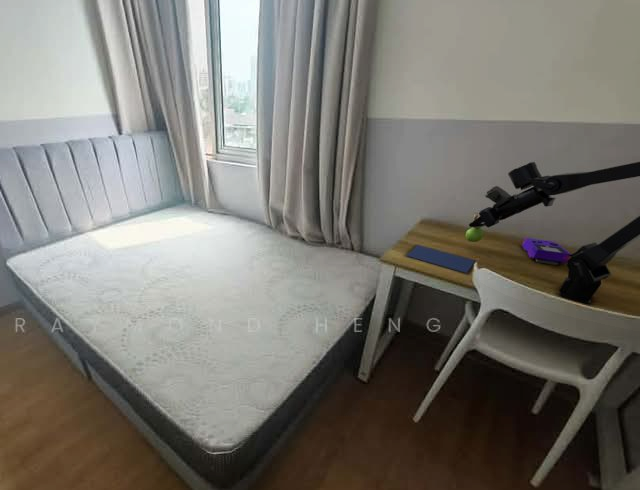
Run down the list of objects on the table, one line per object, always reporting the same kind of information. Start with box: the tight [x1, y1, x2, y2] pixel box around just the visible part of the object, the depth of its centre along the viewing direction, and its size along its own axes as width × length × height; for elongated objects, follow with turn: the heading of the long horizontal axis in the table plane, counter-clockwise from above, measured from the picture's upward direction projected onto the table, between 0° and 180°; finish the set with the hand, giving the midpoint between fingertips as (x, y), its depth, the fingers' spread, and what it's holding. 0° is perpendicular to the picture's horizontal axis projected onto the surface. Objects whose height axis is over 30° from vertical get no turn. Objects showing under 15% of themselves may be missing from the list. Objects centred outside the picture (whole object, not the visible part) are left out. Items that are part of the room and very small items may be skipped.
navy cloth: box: [406, 245, 476, 275], centre depth 116 cm, size 20×12×1 cm, turn 46°
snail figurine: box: [465, 211, 484, 243], centre depth 113 cm, size 5×6×12 cm
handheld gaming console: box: [522, 237, 572, 266], centre depth 115 cm, size 9×5×15 cm
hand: (473, 223), depth 114 cm, fingers closed on snail figurine, 5 cm apart
